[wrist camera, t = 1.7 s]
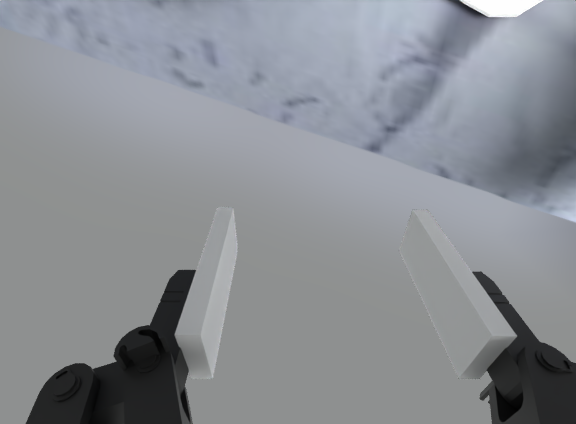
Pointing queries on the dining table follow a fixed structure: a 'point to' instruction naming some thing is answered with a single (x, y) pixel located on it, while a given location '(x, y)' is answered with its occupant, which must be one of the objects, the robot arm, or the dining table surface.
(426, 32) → the dining table surface
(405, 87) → the dining table surface
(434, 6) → the dining table surface
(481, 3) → the plate
